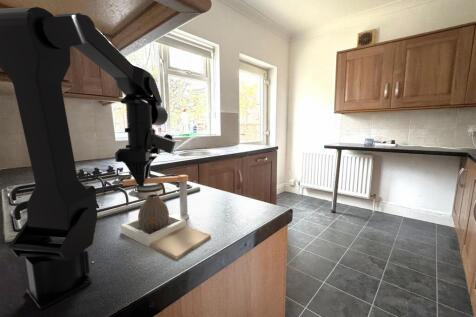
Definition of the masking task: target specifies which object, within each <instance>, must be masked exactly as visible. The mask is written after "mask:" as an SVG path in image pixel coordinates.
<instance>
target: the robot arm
mask: <svg viewBox="0 0 476 317" xmlns="http://www.w3.org/2000/svg"><path fill="white" fill-rule="evenodd" d="M72 47H74V48H75V49H76V50H78V51H79V52H81V54H83V55H84V56H85V57H87V58H88V59H89V60H90V61H91V62H93V63H95V64H96V65H97V67H99V68H100V69H102V70H103V71H104V72H106V73H107V74H108V75H110V76H111V77H112V78H113V79H114V81H115V84H116V87H117V88H118V89H119V90H120V92H122V94H123V95H125V96H123V98H121V100H120V103H121V104H123V105H125V107H126V125H127V126H126V127H125V128H124V133H127V142H128V144H125V147H122V148H119V149H118V150H116V151H115V154H114V155H115V156H114V158H115V162H116V163H123V164H124V165H125V166H126V167H127V169H128V171H129V172H130V174H131V175H132V177H133V179H135V181H136V182H137V184H138V185H137V186H138V187H139V188H140V187H142V188H144V186H145V184H144V181H145V178H149V174H150V169H151V166H152V163H153V162H154V161H155V159H156V158H158V156H157V155H160V154H161V151H164V153H167V154H172V153H173V152H174V149H175V146H176V143H177V141H176V140H175V139H173V138H174V137H173V135H171V134H167V133H166V134H165V135H163V136H162V135H160V134H156V129H155V128H153V126H162V125H165V124H166V122H167V120H168V118H169V117H168V116H169V115H168V113H167V110H166V108H164V106H162V102H163V100H162V97H161V94H160V91H159V88H158V85H157V82H156V79H155V78H154V76H153V75H152V74H151V73H150V72H149V70H147V69H146V68H144V67H141V66H138V65H135V64H133V63H132V62H131V61H130V60H128V58H127V57H125V55H123V54H122V52H121V51H120V50H119V49H117V48H116V46H115V45H113V43H111V42H110V40H109V39H107V37H106V36H105V35H103V33H102V32H101V31H100V30H99V29H98V28H97V27H96V26H95V23H94V21H93V20H92V19H91V17H89V16H88V15H86V14H83V13H81V12H71V13H70V12H68V13H66V12H65V13H57V14H55V15H54V14H52V13H51V12H50V11H48V10H47V9H45V8H42V7H38V6H29V7H26V6H25V7H11V8H10V7H9V8H0V69H1V70H2V72H4V74H5V76H7V77H8V78H9V80H10V81H11V83H12V85H13V89H14V94H15V98H16V101H17V102H16V103H17V107H18V111H19V116H20V120H21V126H22V129H23V134H24V138H25V143H26V148H27V151H28V156H29V161H30V165H31V171H32V174H33V175H32V176H33V178H34V186H35V187H34V189H33V190H32V193H31V194H30V197H29V199H28V200H27V203H26V214H27V215H26V218H27V219H26V221H25V222H24V224H23V226H22V227H21V228H20V230H19V231H18V232H17V234H16V235H15V237H14V238H13V239H12V241H11V243H9V245H8V249H9V250H10V252H11V253H12V254H13V256H14V257H17V258H19V257H24V258H25V264H26V269H27V277H28V284H29V286H27V287H26V289H25V290H26V293H27V294H28V295H29V297H30V298H31V299H32V300H33V301H34V303H35V304H36V306H37V307H38V308H39V309H40V310H43V309H45V308H47V307H49V306H51V305H53V304H55V303H57V302H59V301H60V300H62V299H64V298H65V297H68V296H70V295H72V294H73V293H75V292H78V290H81V289H82V288H85V287H86V286H89V285H90V284H91V283H93V278H92V277H90V276H89V274H90V273H91V270H90V269H91V268H90V267H91V266H90V258H89V257H90V256H89V251H88V250H87V249H88V248H90V247H91V246H92V245H93V243H94V239H95V238H94V237H95V232H96V231H95V230H96V227H97V226H96V225H97V222H98V210H97V209H100V205H99V204H98V201H97V190H96V188H95V186H94V185H86V184H83V183H82V182H81V181H80V180H79V178H78V175H77V168H76V162H75V157H74V150H73V146H72V139H71V133H70V128H69V122H68V118H67V117H68V116H67V111H66V106H65V99H64V94H63V88H62V84H63V81H64V79H65V77H66V75H67V72H68V70H69V69H70V66H71V48H72ZM152 154H155V155H152Z"/></svg>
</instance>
